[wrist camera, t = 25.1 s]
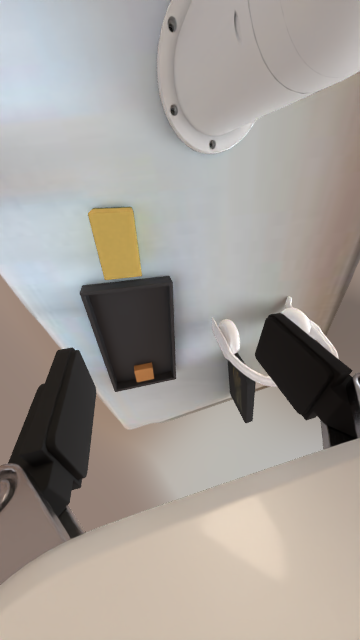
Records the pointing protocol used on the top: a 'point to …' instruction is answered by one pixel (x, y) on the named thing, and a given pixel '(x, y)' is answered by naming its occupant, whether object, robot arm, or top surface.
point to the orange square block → (144, 372)
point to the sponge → (116, 241)
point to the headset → (231, 340)
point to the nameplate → (241, 391)
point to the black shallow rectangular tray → (133, 328)
